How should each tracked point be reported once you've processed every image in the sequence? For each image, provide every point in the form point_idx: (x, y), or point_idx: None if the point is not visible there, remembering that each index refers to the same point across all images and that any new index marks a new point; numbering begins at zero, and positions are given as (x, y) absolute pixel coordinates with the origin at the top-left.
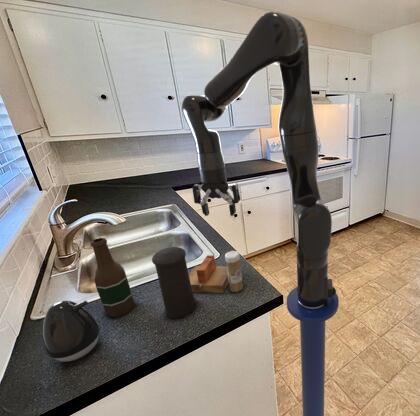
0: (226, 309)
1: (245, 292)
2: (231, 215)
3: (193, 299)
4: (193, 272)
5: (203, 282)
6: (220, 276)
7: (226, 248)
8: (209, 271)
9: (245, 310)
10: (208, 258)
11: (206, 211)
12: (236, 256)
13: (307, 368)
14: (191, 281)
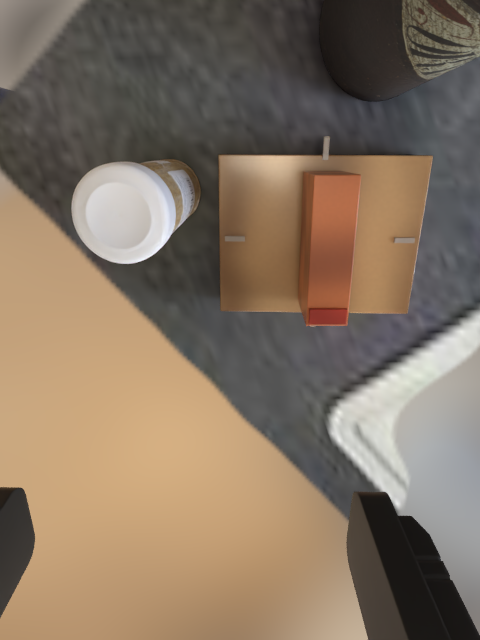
0: (164, 31)
1: (120, 161)
2: (5, 487)
3: (326, 35)
4: (398, 258)
5: (318, 171)
6: (251, 228)
7: (315, 475)
8: (304, 229)
9: (74, 28)
10: (329, 298)
11: (371, 550)
12: (76, 188)
13: (2, 88)
14: (384, 182)
